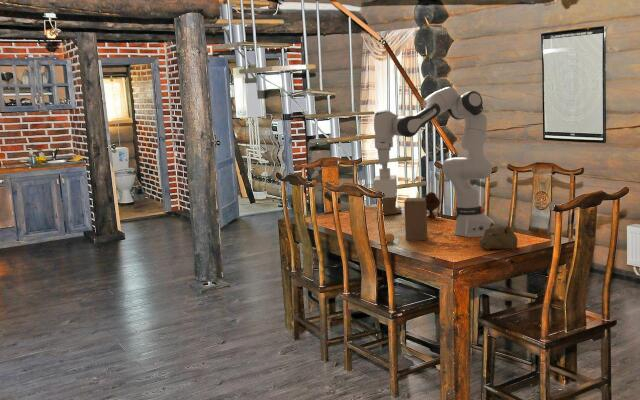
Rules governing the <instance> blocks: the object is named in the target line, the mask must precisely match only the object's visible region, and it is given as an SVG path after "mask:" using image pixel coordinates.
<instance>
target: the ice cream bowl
mask: <svg viewBox="0 0 640 400" xmlns="http://www.w3.org/2000/svg"><path fill="white" fill-rule="evenodd" d="M422 198H426V211H428V212H429V214H428V215H427V219H436V218H437V216H436V215H434V214H433V212H434V211H435V210H436V209H438V208H439V207H440V205H441V201H440V199H439V198H438V197H437V194H436V193H435V192H432V191H429V192H427V194H425V195H424V196H422Z"/></svg>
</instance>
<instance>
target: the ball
mask: <svg viewBox="0 0 640 400" xmlns="http://www.w3.org/2000/svg"><path fill="white" fill-rule="evenodd" d="M384 236H386V241H387V242H393V241H394V238H395V236H394V234H393V233H391V232H388V233H386V234H385V235H384Z"/></svg>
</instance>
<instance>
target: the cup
mask: <svg viewBox="0 0 640 400" xmlns="http://www.w3.org/2000/svg"><path fill="white" fill-rule="evenodd" d="M386 169H387V172H386V173H383V168H379V170H378V172H379V175H376V176H375V177H374V179H373V192H374V191H381V192H383V193H384V194H385V197H383V198H389V197H396V194H398V186H397V184H398V183H397V182H398V181H397V175H396V174H394V175H393V174H391V168H390V167H387V168H386Z"/></svg>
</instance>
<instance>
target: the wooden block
mask: <svg viewBox="0 0 640 400" xmlns="http://www.w3.org/2000/svg"><path fill="white" fill-rule="evenodd" d="M403 205H404V221H405V222H404V225H405V226H404V227H405V230H404V231H405V241H426V240H427V237H428V218H427V216H428V215H427V213H428V212H427V211H428V210H426V198H423V197H407V198H405V200H404V202H403Z"/></svg>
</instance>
